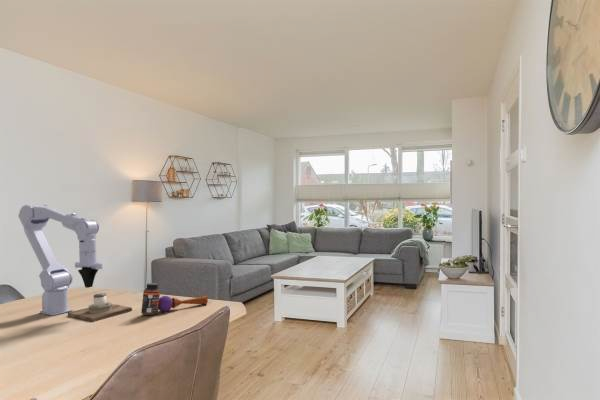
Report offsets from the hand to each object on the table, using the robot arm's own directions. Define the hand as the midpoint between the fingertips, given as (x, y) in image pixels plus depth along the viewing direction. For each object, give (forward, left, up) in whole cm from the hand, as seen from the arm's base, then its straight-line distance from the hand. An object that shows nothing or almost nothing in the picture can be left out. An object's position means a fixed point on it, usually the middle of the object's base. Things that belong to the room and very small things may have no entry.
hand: (88, 287), depth 152 cm
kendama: (+26, +23, -11) cm, 36 cm away
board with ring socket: (+3, +3, -10) cm, 11 cm away
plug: (+3, +3, -9) cm, 10 cm away
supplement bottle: (+22, +10, -10) cm, 26 cm away
